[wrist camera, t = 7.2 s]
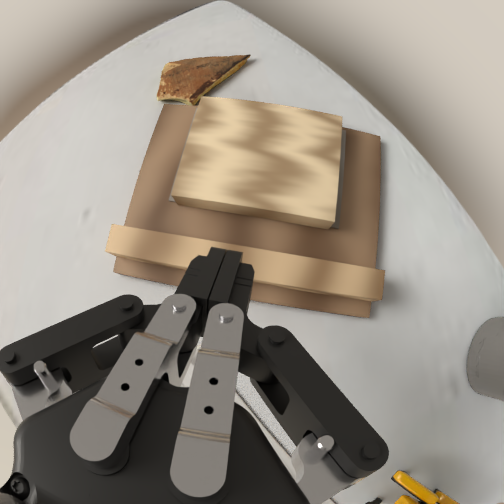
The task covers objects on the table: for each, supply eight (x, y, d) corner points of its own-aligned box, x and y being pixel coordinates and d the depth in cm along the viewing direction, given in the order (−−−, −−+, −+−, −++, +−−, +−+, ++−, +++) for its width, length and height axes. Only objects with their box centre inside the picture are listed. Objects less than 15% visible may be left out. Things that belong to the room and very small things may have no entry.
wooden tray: (377, 141, 31) (388, 124, 27) (365, 317, 27) (379, 317, 24) (166, 109, 32) (158, 90, 28) (117, 273, 28) (101, 267, 25)
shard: (250, 62, 34) (250, 52, 32) (251, 106, 32) (251, 97, 31) (166, 69, 34) (163, 60, 32) (158, 113, 32) (154, 104, 31)
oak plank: (328, 229, 28) (336, 130, 30) (334, 221, 25) (342, 116, 27) (177, 204, 28) (204, 110, 30) (170, 195, 26) (201, 96, 28)
